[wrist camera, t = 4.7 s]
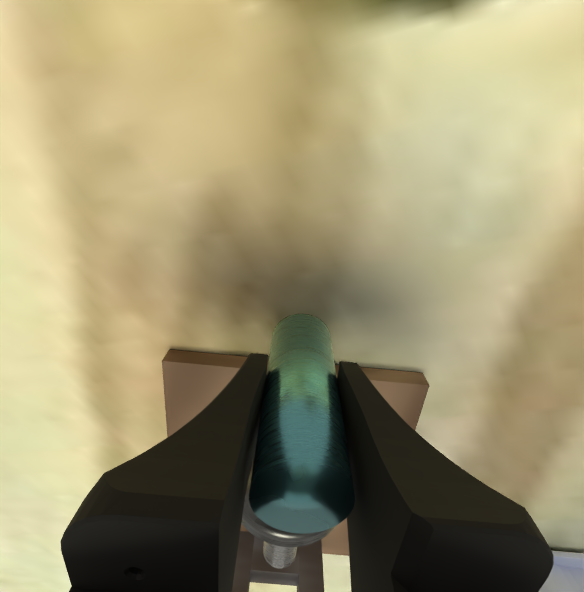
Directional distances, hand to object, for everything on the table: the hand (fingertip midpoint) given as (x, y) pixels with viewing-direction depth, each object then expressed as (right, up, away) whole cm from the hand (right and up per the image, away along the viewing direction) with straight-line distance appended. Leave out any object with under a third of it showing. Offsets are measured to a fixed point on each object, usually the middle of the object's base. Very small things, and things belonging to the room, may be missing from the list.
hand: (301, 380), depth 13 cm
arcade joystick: (0, -3, +4) cm, 5 cm away
